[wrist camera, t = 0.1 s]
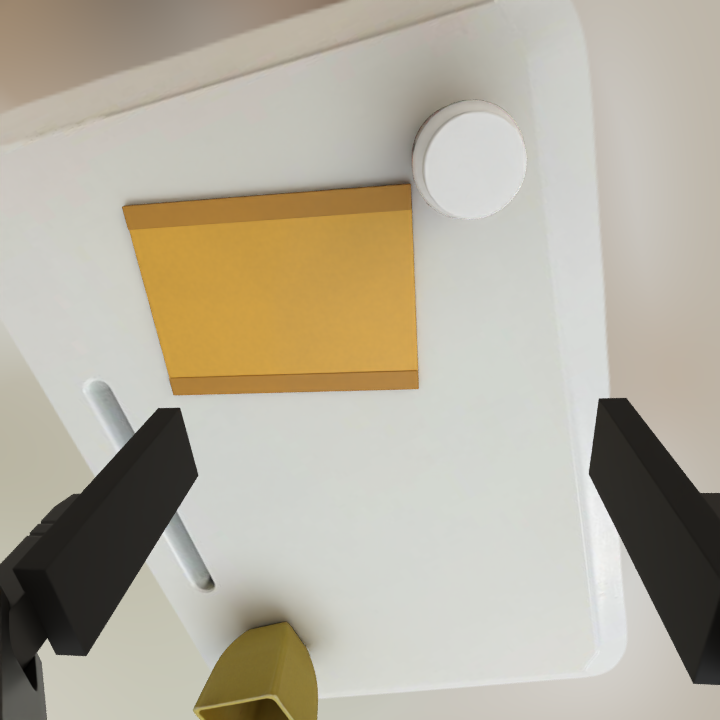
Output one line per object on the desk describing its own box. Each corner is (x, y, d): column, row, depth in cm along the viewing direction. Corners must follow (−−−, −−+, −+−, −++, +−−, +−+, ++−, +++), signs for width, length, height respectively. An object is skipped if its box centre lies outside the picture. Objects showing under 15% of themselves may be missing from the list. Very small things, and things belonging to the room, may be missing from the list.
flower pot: (332, 658, 54) (317, 752, 46) (262, 671, 56) (237, 763, 48) (296, 604, 51) (273, 694, 43) (224, 620, 53) (190, 709, 45)
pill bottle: (393, 161, 32) (385, 175, 23) (455, 82, 30) (472, 63, 21) (459, 219, 33) (475, 254, 24) (523, 148, 31) (566, 156, 22)
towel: (126, 205, 35) (121, 206, 35) (410, 183, 33) (410, 184, 32) (176, 392, 41) (173, 395, 41) (418, 385, 39) (418, 389, 38)
